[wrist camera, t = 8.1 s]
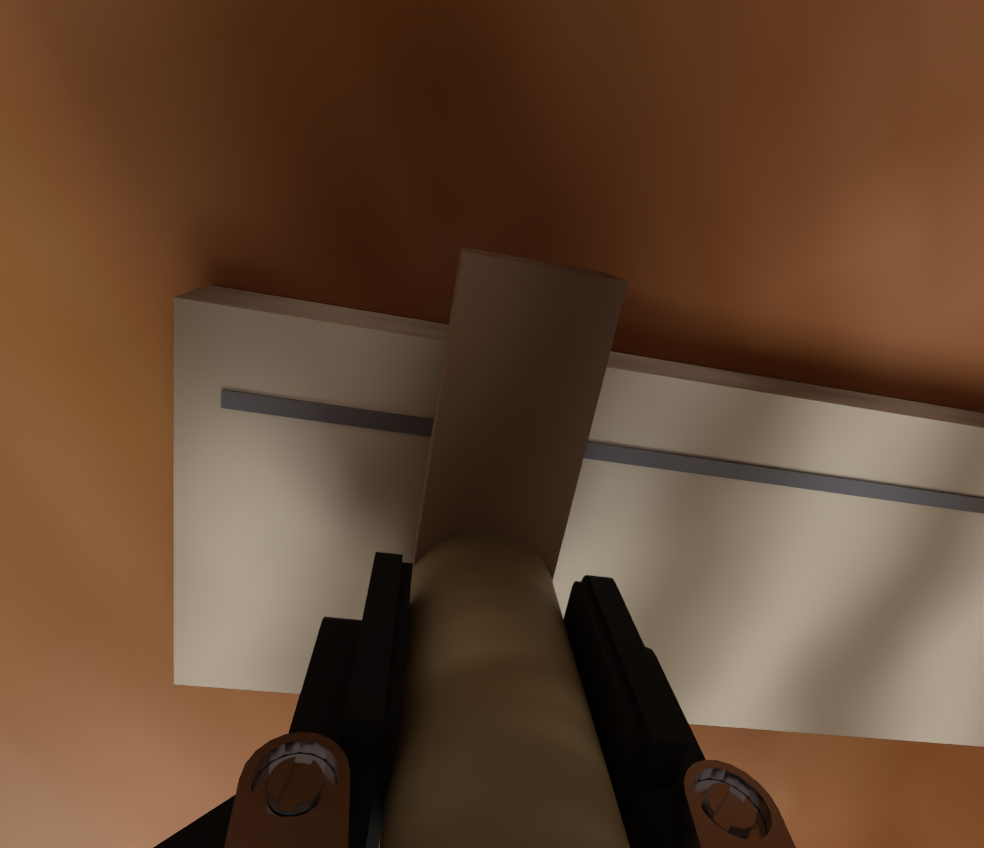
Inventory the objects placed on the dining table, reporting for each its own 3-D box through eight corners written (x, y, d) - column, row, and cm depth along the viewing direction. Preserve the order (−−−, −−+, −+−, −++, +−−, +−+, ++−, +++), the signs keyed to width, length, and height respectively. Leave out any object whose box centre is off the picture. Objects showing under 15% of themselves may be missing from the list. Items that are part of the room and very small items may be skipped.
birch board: (1135, 437, 17) (1226, 467, 15) (981, 701, 20) (1039, 753, 18) (210, 285, 14) (171, 298, 12) (203, 631, 17) (172, 688, 15)
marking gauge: (626, 273, 14) (1063, 422, 4) (513, 724, 18) (592, 1300, 9) (414, 233, 13) (331, 301, 3) (352, 712, 18) (242, 1321, 8)
